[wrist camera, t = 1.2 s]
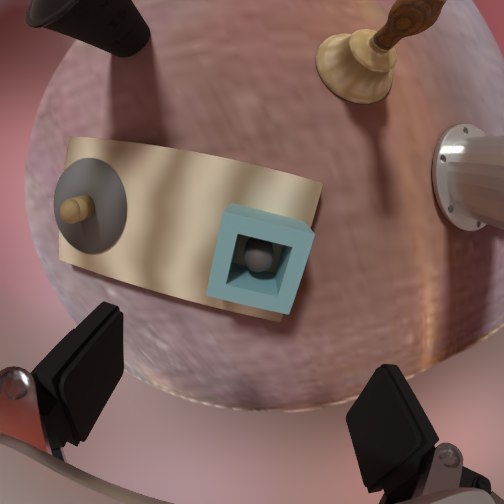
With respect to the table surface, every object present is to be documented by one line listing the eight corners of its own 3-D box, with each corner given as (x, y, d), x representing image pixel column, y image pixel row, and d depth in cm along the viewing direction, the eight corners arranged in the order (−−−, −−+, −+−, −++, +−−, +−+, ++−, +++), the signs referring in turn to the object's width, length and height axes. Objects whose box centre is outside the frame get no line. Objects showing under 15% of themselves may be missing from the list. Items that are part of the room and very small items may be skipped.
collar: (304, 221, 24) (315, 234, 19) (284, 288, 26) (288, 314, 21) (231, 202, 24) (223, 211, 19) (216, 272, 25) (205, 295, 21)
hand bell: (397, 107, 22) (507, 71, 7) (321, 102, 22) (393, 27, 7) (383, 40, 20) (463, -30, 4) (309, 32, 20) (349, -71, 5)
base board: (318, 182, 25) (334, 186, 19) (279, 312, 29) (283, 345, 23) (74, 136, 24) (39, 134, 18) (62, 252, 28) (32, 268, 22)
